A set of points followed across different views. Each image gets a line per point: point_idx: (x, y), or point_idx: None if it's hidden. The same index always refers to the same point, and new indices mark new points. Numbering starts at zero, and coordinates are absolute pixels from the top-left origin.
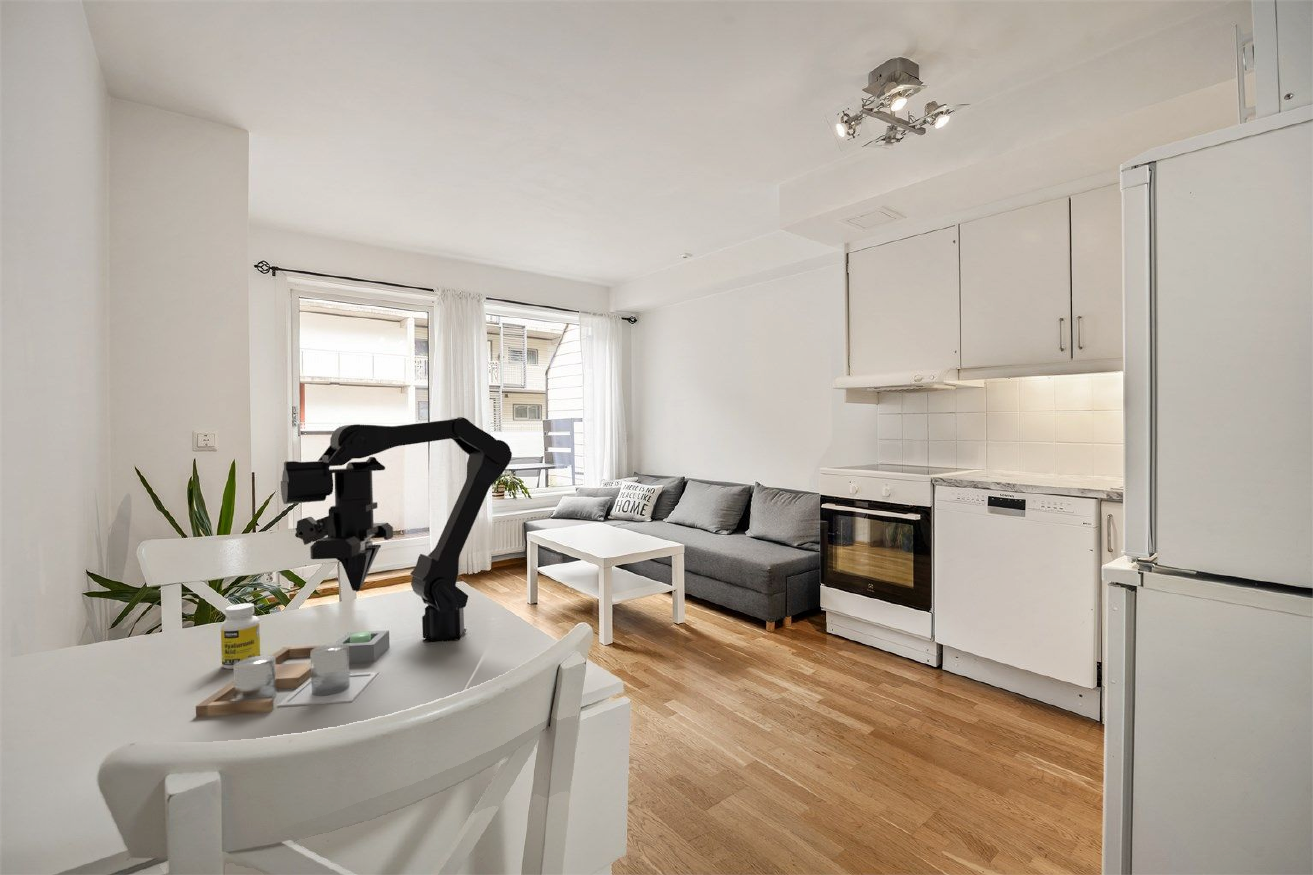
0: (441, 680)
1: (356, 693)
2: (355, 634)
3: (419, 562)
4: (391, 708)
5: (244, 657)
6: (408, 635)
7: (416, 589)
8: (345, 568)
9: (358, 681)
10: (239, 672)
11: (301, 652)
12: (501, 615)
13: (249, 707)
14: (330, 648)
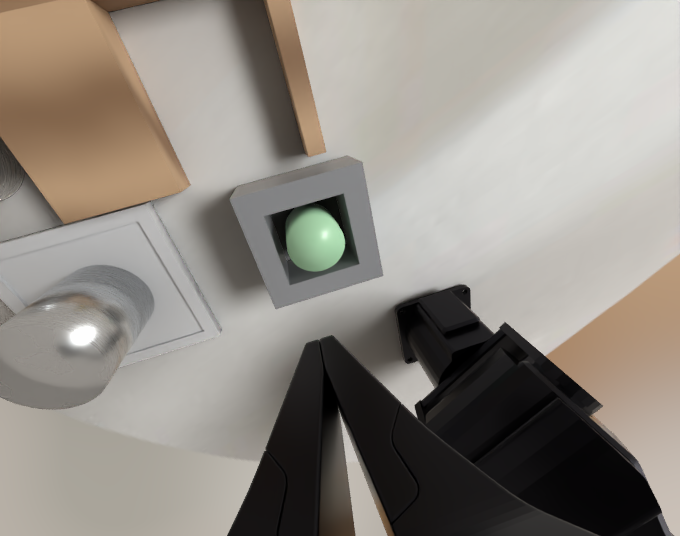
0: (239, 424)
1: None
2: (320, 225)
3: (597, 476)
4: (114, 426)
5: None
6: (461, 235)
7: (478, 393)
8: (247, 511)
9: (167, 327)
10: None
11: (271, 23)
12: (549, 345)
13: None
14: (47, 370)
